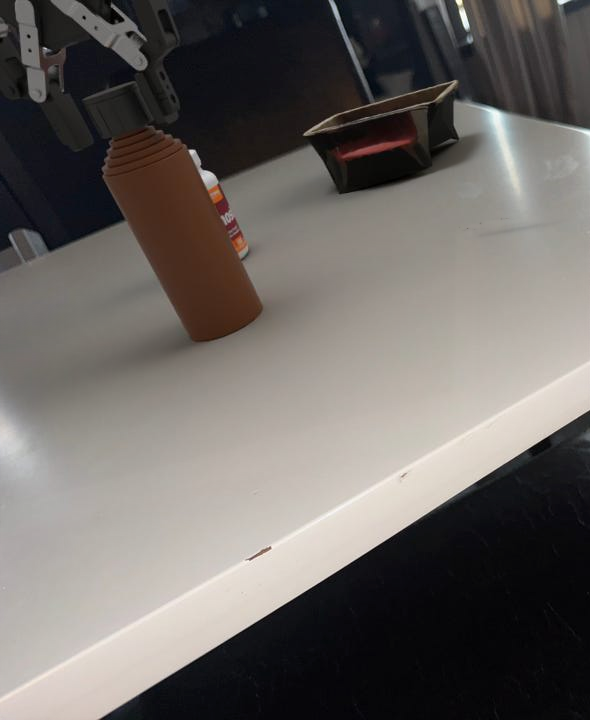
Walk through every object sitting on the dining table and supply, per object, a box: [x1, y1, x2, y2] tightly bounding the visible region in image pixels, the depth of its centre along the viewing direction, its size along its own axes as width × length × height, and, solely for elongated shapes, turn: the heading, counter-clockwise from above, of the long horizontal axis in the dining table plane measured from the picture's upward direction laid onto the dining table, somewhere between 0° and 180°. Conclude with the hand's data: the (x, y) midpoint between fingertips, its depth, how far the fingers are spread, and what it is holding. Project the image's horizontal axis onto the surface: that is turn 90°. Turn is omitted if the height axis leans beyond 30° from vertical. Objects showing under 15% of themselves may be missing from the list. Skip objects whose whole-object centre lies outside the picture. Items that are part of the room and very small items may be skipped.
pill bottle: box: [188, 149, 249, 260], centre depth 76 cm, size 6×6×11 cm
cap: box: [81, 80, 155, 139], centre depth 55 cm, size 4×4×3 cm
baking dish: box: [302, 79, 460, 195], centre depth 89 cm, size 14×18×10 cm
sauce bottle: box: [101, 124, 264, 342], centre depth 60 cm, size 6×6×18 cm
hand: (126, 134), depth 56 cm, fingers open, 6 cm apart
